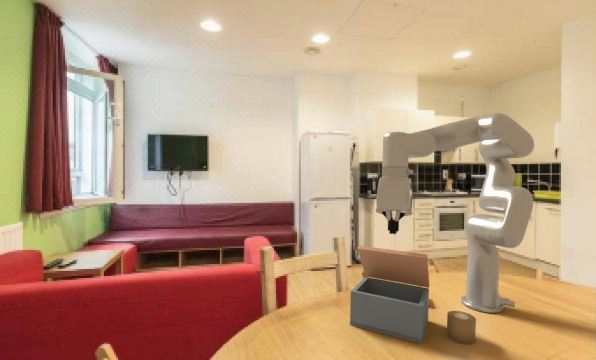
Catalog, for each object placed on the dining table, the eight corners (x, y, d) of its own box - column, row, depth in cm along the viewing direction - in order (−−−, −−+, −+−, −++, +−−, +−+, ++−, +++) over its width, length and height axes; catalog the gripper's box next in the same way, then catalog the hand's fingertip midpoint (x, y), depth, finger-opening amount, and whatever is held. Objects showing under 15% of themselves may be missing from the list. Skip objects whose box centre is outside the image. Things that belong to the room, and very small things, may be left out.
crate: (428, 320, 95) (429, 288, 95) (421, 343, 82) (423, 306, 82) (364, 306, 105) (365, 276, 105) (349, 324, 92) (350, 291, 91)
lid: (429, 287, 95) (429, 284, 96) (426, 258, 86) (427, 254, 87) (365, 276, 105) (366, 273, 106) (357, 248, 96) (358, 245, 97)
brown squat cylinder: (474, 335, 87) (475, 314, 87) (475, 347, 81) (476, 324, 81) (447, 328, 90) (448, 308, 90) (446, 340, 84) (446, 318, 84)
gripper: (422, 173, 93) (420, 234, 94) (373, 173, 101) (372, 229, 101) (419, 173, 87) (417, 238, 87) (367, 172, 94) (365, 232, 94)
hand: (393, 233), depth 94 cm, fingers closed
